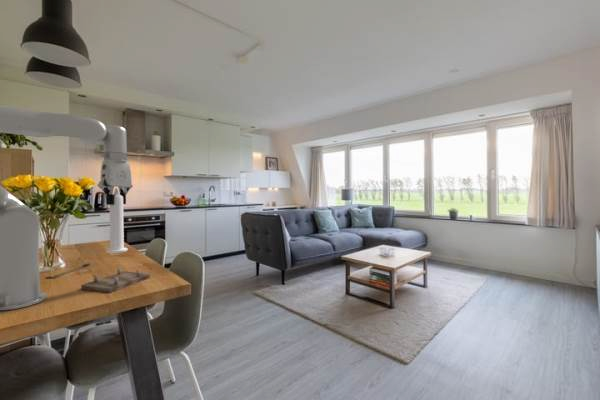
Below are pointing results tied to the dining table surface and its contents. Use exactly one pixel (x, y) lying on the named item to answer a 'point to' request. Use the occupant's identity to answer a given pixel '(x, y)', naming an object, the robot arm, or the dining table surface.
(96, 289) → the peg stand
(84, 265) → the tactical tomahawk
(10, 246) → the robot arm
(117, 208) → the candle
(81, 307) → the dining table surface
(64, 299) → the dining table surface
